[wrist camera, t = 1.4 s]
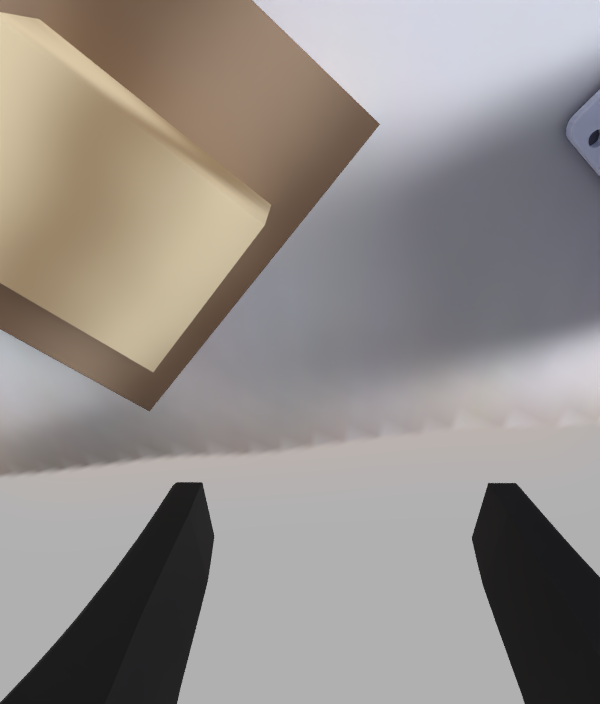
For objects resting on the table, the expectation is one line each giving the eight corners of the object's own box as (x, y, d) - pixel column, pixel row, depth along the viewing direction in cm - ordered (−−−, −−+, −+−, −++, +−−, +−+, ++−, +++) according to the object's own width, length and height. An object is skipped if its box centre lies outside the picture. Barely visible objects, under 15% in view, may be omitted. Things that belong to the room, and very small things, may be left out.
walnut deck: (368, 114, 14) (379, 124, 12) (170, 367, 20) (149, 411, 17) (-5, -248, 10) (-110, -350, 8) (-117, 196, 16) (-198, 220, 14)
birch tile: (271, 204, 13) (264, 225, 11) (170, 339, 15) (153, 372, 14) (39, 18, 11) (-13, 9, 9) (-32, 213, 13) (-83, 234, 12)
